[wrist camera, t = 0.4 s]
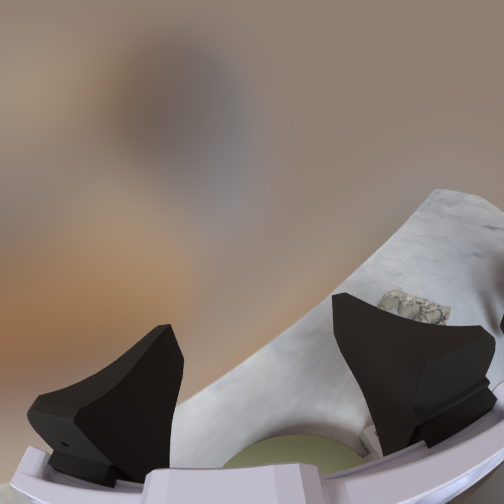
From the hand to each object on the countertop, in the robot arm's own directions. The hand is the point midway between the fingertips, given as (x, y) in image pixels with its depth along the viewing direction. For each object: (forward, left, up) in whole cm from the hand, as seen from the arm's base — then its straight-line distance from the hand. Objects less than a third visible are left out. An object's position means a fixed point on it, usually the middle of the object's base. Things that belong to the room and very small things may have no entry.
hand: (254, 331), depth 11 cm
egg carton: (+9, -20, -20) cm, 30 cm away
